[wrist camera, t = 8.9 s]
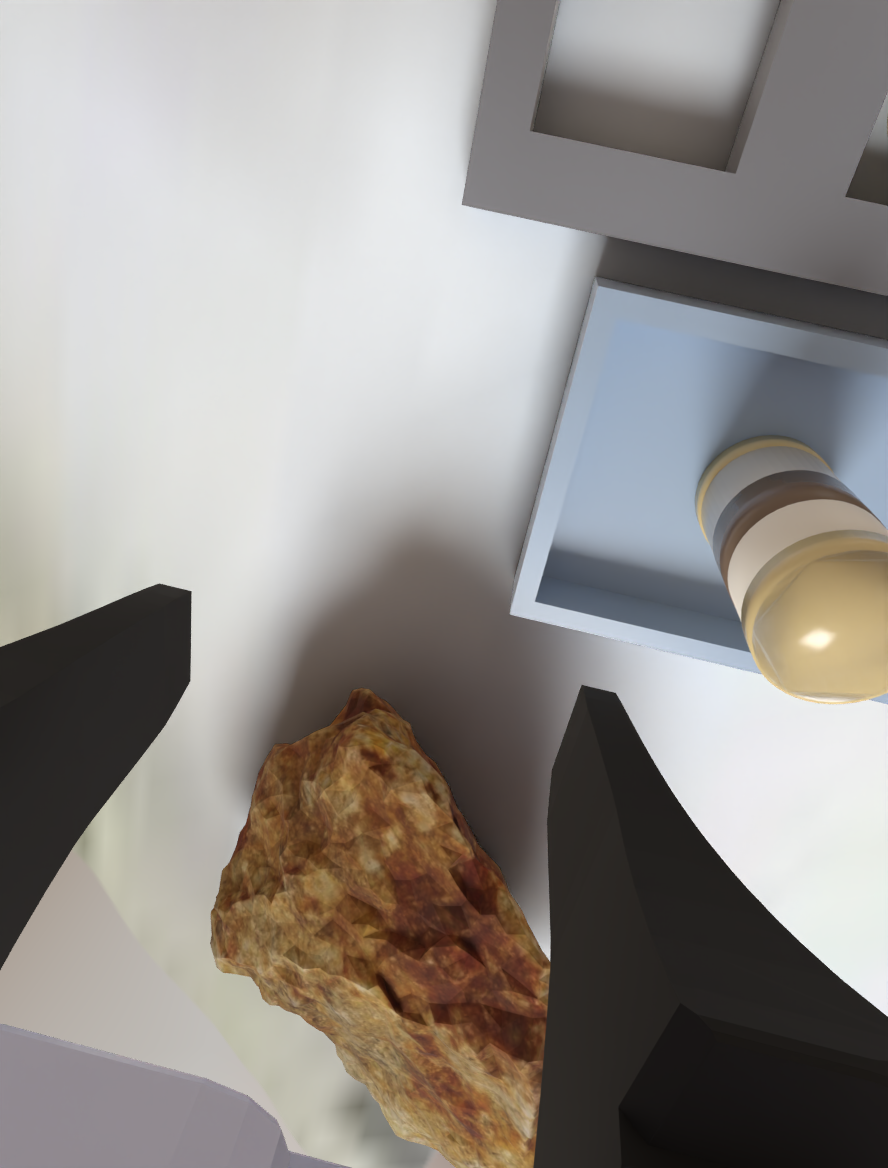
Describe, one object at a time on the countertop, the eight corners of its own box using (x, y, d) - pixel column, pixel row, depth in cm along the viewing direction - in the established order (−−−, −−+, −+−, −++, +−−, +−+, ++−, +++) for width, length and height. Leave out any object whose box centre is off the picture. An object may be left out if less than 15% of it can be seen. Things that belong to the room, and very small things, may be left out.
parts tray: (1069, 379, 18) (1130, 401, 16) (894, 668, 22) (924, 713, 20) (594, 276, 18) (598, 285, 17) (514, 579, 23) (509, 614, 21)
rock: (317, 584, 26) (54, 750, 23) (611, 854, 15) (170, 1245, 12) (466, 871, 38) (301, 1008, 35) (697, 1150, 26) (482, 1390, 23)
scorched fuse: (853, 451, 19) (988, 572, 13) (796, 566, 21) (893, 721, 15) (721, 421, 19) (794, 528, 13) (676, 538, 21) (722, 680, 15)
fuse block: (1278, -113, 14) (1348, -143, 12) (1032, 324, 18) (1067, 334, 16) (549, -250, 14) (548, -291, 13) (469, 204, 18) (461, 204, 17)
